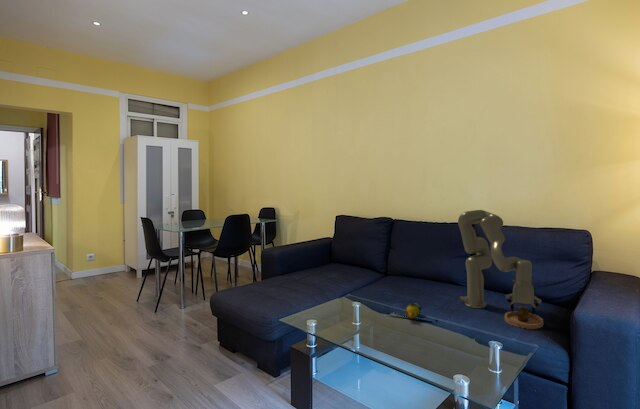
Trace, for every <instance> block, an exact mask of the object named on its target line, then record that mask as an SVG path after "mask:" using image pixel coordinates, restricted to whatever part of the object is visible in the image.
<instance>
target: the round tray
mask: <svg viewBox="0 0 640 409" xmlns="http://www.w3.org/2000/svg"><path fill="white" fill-rule="evenodd" d="M503 318H504V319H503V320H504V321H505V323H507V324H509V325H510V326H512V325H513V327H515V326H516V328H519V327H521V328H520V329H524V328H526V329H525V330H539V329H542V328H543V327H544V326H543V325H544V319H543V318H542V317H541V316H540V315H537V314H535V313H534V315H533V314H532V312H528V322H521V321H519V320H518V310H514V311H513V312H512V310H510V311H508V312H505V313H504V317H503ZM541 327H542V328H541ZM538 328H539V329H538Z"/></svg>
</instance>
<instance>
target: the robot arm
mask: <svg viewBox="0 0 640 409" xmlns="http://www.w3.org/2000/svg"><path fill="white" fill-rule="evenodd" d="M477 224H479V225H480V227H481V229H482V231H483V232H484V235H485V237H486V238H487V240H486V238H483V237H482V236H481V237H480V236H477V233H476V230H475V228H474V227H473V226H472V225H477ZM457 225H458V229H459V231H460V233H461V234H460V235H461V239H462V243H463V247H464V251H465V252H466V254H469V255H470V254H471V256H468V257H467V258H466V260H465V269H466V284H467V286H466V287H467V288H466V290H467V292H466V293H467V295H466V296H461V295H460V296H459V300H461V301H464V305H465V306H466V307H469V308H473V309H484V308H487V302H485V301H484V299H485V297H484V296H485V294H484V293H485V292H484V291H485V290H484V289H485V288H484V284H485V279H484V278H485V277H484V274H483V271H482V270H487V269H490V267H492V265H493V263H494V265H495V266H496V268H497V269H498V270H499V271H500V272H502V273H509V272H512V271H515V278H513V279H512V282H514V284H513V286H512V287H513V288H512V292H511V293H509V294H505V296H504V297H505V299H506V301H507V302H508V303H509V304H510V310H511V311H512V312H513V311H515V310H514V308H515V307H514V306H515V303H517V304H523V305H529V306H531V313H532V314H533V315H534V314H535V313H536V308H538V307H539V306H540V304H541V303H542V299H540V298H539V297H537V296H536V295H535V292H534V285H532V282H533V281H532V280H533V279H532V276H533V275H532V273H533V271H532V270H533V263H532V261H531V260H527V259H521V258H519V257H516V256H509V257H506V256H504V253H503V249H502V246H503V244H504V242H505V241H506V238H505V235H504V234H503V232H502V230H501V229H502V228H503V226H504V221H503V218H502V217H501V216H499V215H497V214H494V213H492V212H489V211H487V210H484V209H476V210H475V209H473V210H468V211H465V212H463V213H461V214H460V215H459V217H458V219H457ZM488 242H489V243H488ZM489 244H490V247H489ZM472 254H473V255H472ZM474 254H475V255H474ZM510 297H511V298H512V299H510ZM535 301H536V302H535Z"/></svg>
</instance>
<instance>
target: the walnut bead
mask: <svg viewBox="0 0 640 409" xmlns="http://www.w3.org/2000/svg"><path fill="white" fill-rule="evenodd" d="M517 311H518V320H519V321H521V322H528V313H529V307H527V306H524V305H521V306H518V307H517Z"/></svg>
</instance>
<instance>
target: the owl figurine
mask: <svg viewBox="0 0 640 409" xmlns="http://www.w3.org/2000/svg"><path fill="white" fill-rule="evenodd" d="M421 311H423V307H422V306H421V305H419V304H418V303H417V302H414V303H413V302H412V303H409V304H408V305H407V306H406V309H405V311H404V314H405V315H407V317H406V316H405V317H404V316H398V315H397V316H394V317H395V318H396V317H397V318H398V317H399V318H403V319H404V318H405V319H412V320H418V319H416V318H415V317H416V316H419V315H420V313H421ZM392 313H393V312H390V314H392ZM390 314H389V315H388V317H393V316H392V315H391V316H390Z"/></svg>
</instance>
